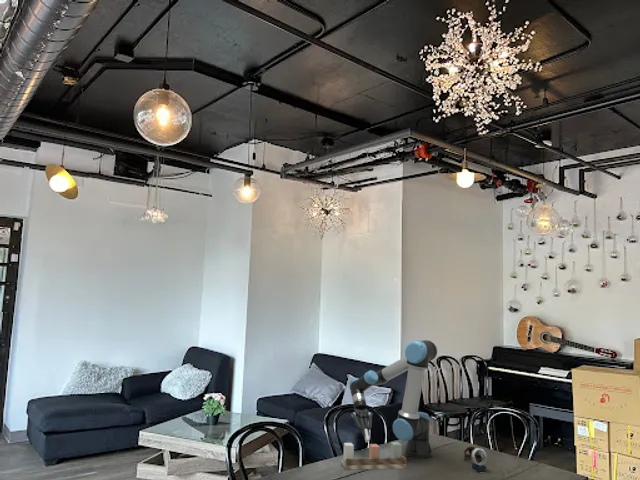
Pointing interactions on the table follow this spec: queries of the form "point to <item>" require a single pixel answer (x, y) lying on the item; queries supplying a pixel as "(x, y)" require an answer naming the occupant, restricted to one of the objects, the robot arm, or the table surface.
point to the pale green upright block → (395, 450)
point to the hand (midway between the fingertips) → (367, 440)
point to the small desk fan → (479, 466)
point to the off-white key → (348, 451)
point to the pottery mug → (470, 449)
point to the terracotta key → (374, 451)
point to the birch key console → (374, 463)
